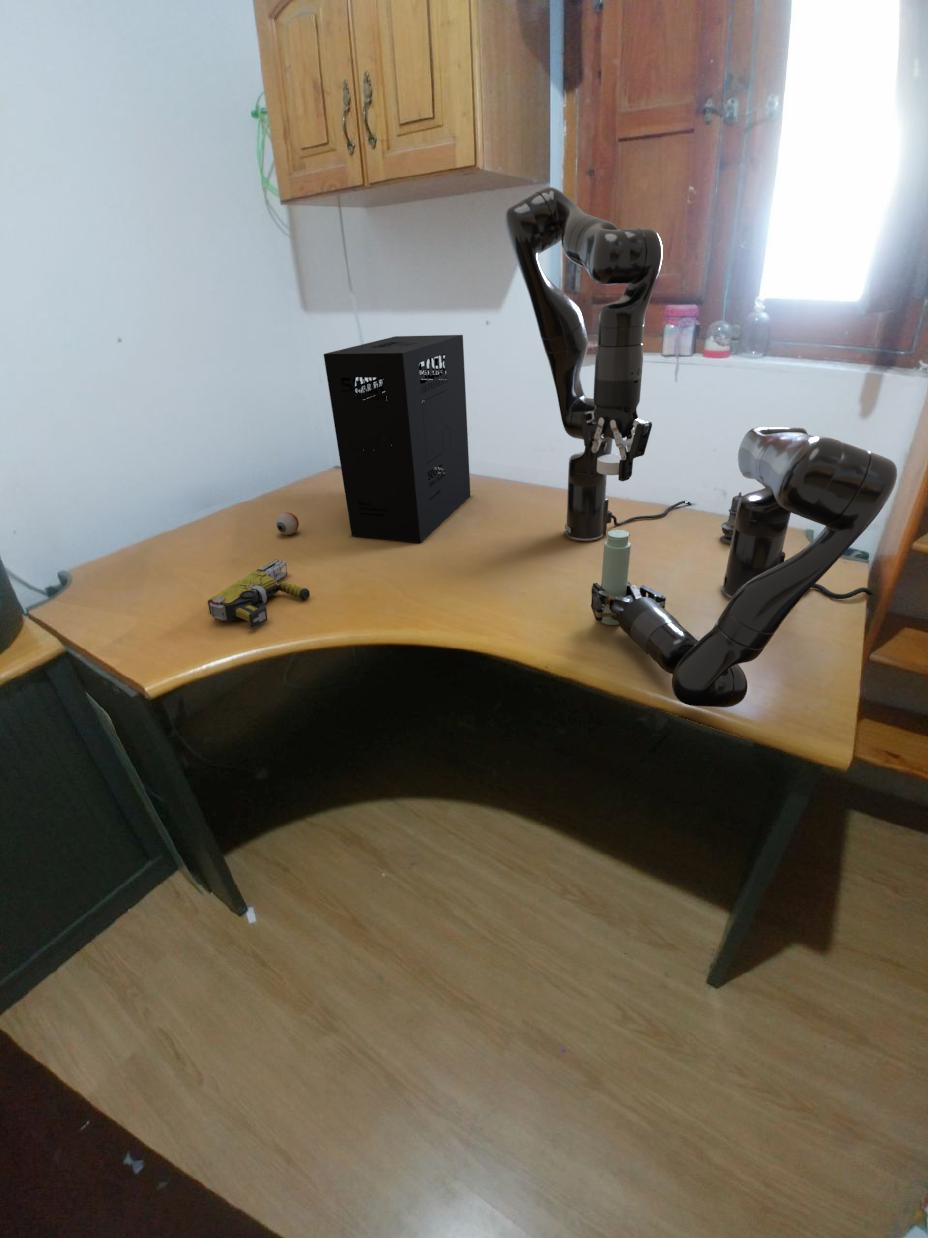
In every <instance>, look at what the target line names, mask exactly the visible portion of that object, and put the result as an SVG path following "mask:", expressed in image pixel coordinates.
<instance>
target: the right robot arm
mask: <svg viewBox="0 0 928 1238" xmlns="http://www.w3.org/2000/svg"><path fill="white" fill-rule="evenodd" d="M738 447H739V448H738V451H737V465H738V469H739V472H740V474H741V475H742V477H744V478H746V479H751V480H756V482H758V483H759V484H761V485H762V486H763V488H761V489H758V490H754V491H751V492H748V493H746V494H744V495H742V497H741V498H740V500H739V503H738V508H737V514H736V519H735V524H734V530H733V536H732V541H731V544H730V546H729V553H728V558H727V562H726V563H727V564H726V568H725V572H724V573H723V577H724V578H723V581H722V582H723V584H722V586H721V587H722V588H721V592H722V595H724V597H726V598H727V599H729V601H728V603H727V604H726V606H725V607H724V609H723V611H722V612H721V614H720V615H719V617H718V618H717V620H716V622H715V623H714V625H713V628H711V630H709V632H707V633H705V634H704V635H703V636H702V637H701V638H700V639H699V640H698V639H697V638H696V637H695V636H693V634H692V633H690V632H689V631H688V630H687V629H686V628H685V627H683V625H682V624H680V622H679V620H678V619H677V618H675V616H673V615H672V614H671V613H670V612H669V611H668V610H666V608H665V607H666V599H667V596H666V595H665V594H662V593H661V592H659V591H657V590H655V589H653V588H651V587H649V586H647V585H645V584H644V585H643V584H642V585H640V587H638V586H637V585H633V584H632V583H630V582H629V581H628V580H627V590H626V597H620V596H618V595H616V594H614V593H612V594H609V593H607V592H605V590H604V589H603V588H602V587H601V584H599V582H593V583H592V585H591V591H590V592H591V593H590V594H591V603H590V608H591V610H592V613H593V616H594V619H595V621H596V622H601V621H602V619H603V617H611V618H612V619H614V620H616V621H618V622H619V624H618V625H619V626H620V628H621V630H622V631H623V632H624V633H625V635H627V636H628V637H629V638H630V640H631V641H633V643H635V644H636V646H637V647H638V648H639V649H640V650H641V651H642V652H644V653H645V654H646V655H648V657H650V658H651V659H652V660H653V661H654V662H655V663H656V664H657V665H658V666H659V667H660V668H661V669H662V670H663V671H664V672H666V673H668V674H669V675H671V689H672V693H673V696H675V698H676V699H677V700H678V701H679V702H680V703H682V704H684V705H687V706H690V707H705V708H706V707H707V708H732V707H734V706H737V705H739V704H740V703H741V702H742V701H743V700H744V699H745V697H746V695H747V693H748V686H749V684H748V679H747V676H746V674H745V671H744V670H743V669H742V667H741V666H740V665H741V664H745V663H749V662H752V661H754V660H756V659H757V658H758V657H759V656H760V655H761V654H762V652H763V651H764V649H766V646H767V645H768V644H769V642H770V641H771V640H772V638H773V637H774V635H775V634H776V633H777V631H778V630H779V628H780V627H781V625H782V624H783V622H784V621H785V619H786V618H787V617H788V615H789V614H790V612H792V611H793V609H794V608H795V606H796V605H797V604H798V603H799V602H800V601H801V599H803V597H805V595H806V594H807V593H808V592H809V591H810V590H811V589H815V590H818V591H820V592H821V593H823V594H824V595H826V596H828V597H829V598H831V599H836V600H845V599H846V600H847V599H851V598H853V597H855V596H857V595H859V594H862V593H865V594H866V595H867V596H874V593H873V591H872V590H871V589H870V588H868V587H864V586H863V587H858V588H856V589H854V590H852V591H850V592H846V593H836V592H832V591H831V590H829V589H828V588H826V587H825V586H824V585H822V584H819V583H817V582H819V581H820V580H821V578H822V577H823V576H824V575H825V574H826V573H827V572H828V571H830V569H831V568H832V566H834V565H835V564H836V562H837V561H838V560H839V559H840V558H841V557H842V556H843V555H844V554H845V553H846V552H847V551H848V549H850V547H851V546H852V545H853V544H854V543H855V542H856V541H857V540H858V538H859V537H861V535H862V534H863V533H864V532H865V531H866V529H868V528H869V526H870V525H871V524H872V523H873V522H874V520H876V518H877V516H878V515H879V514H880V513H881V511H882V510H883V508H884V506H885V505H886V504H887V502H888V501H889V499H890V497H891V495H892V493H893V491H894V489H895V486H896V484H897V479H898V478H897V477H898V467H897V464H896V463H895V462H894V461H893V460H892V459H890V458H888V457H885V456H883V455H880V454H877V453H875V452H872V451H869V450H866V449H863V448H861V447H858V446H855V445H852V444H849V443H846V442H843V441H841V440H838V439H835V438H831V437H827V436H813V435H811V434H809V433H808V432H807V429H806V428H803V427H800V426H798V427H797V426H757V427H753V428H751V429H749V430H748V431H747V432H746V433H745V434H744V436H743V438H742V439H741V441H740V444H739V446H738ZM791 514H794V515H796V516H799V517H801V518H803V519H807V520H809V521H811V522H814V523H817V524H820V525H822V526H824V528H823V529H822V530H821V531H820V532H819V534H818V535H817V536H816V537H815V538H814V539H813V540H812V541H811V542H810V543H809V544H808V545H807V546H805V547H804V548H803V549H802V550H800V551H798V552H797V553H796V554H794V555H793V556H791V557H789V558H788V559H786V560H785V558H786V553H785V551H783V549H784V545H785V540H786V536H787V531H788V527H789V524H790V523H789V522H790V519H791ZM605 599H607V602H606V601H605Z"/></svg>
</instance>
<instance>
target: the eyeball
mask: <svg viewBox="0 0 928 1238" xmlns="http://www.w3.org/2000/svg"><path fill="white" fill-rule="evenodd" d="M299 525H300V522H299V519H298V517H297V516H296V515H295V514H294V513H292V512H287V511H286V512H282V513H280V514H279V515H278V516H277V517H276V520H275V527H276V529H277V530H278V531H279V532H280V533H281V534H282V535H285V536H286V535H287V536H289V535H293V534H295V533H296V532H297V531H298V529H299Z"/></svg>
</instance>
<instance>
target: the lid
mask: <svg viewBox="0 0 928 1238" xmlns="http://www.w3.org/2000/svg"><path fill="white" fill-rule="evenodd" d="M620 460H621V456H620V454H612V453H611V454H609V455H603V456H600V457H598V458H597V472H598V473H600V474H604V475H607V476H619V463H620Z"/></svg>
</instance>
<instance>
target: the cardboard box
mask: <svg viewBox="0 0 928 1238" xmlns="http://www.w3.org/2000/svg"><path fill="white" fill-rule="evenodd" d="M464 350H465V349H464V335H463V334H440V335H439V334H438V335H437V334H436V335H435V334H434V335H433V334H432V335H402V336H401V335H397V336H395V335H394V336H391V337H387V338H383V339H378V340H374V341H371V342H367V343H362V344H359V345H354V346H349V347H346V348H341V349H337V350H334V351H329V352H326V353H323V359H324V367H325V373H326V380H327V385H328V392H329V398H330V399H329V400H330V406H331V412H332V418H333V425H334V430H335V437H336V444H337V451H338V456H339V463H340V469H341V476H342V483H343V489H344V495H345V501H346V503H345V504H346V509H347V514H348V520H349V527H350V528H349V529H350V533H351V535H350V536H351V537H359V538H367V539H376V540H377V539H378V540H388V541H397V542H406V543H407V542H408V543H417V544H421V543H422V542H423V541H425V540H426V538H428V537H429V536H430V535H431V534H432V533H433V532H434V531H435V530H436V529H438V527H439V526H441V524H443V522H445V521H446V520H447V519H448V518H449V517H450V516H452V514H453V513H454V512H455V511H457V509H458V508H459V507H461V506H462V505H463V504H464V503H465V502H466V501H467V500H468V499H469V498H470V497H471V478H470V459H469V458H470V457H469V435H468V415H467V413H468V412H467V394H466V392H467V391H466V374H465V373H466V372H465V371H466V370H465V354H464V353H465V352H464ZM422 363H423V365H422ZM440 364H441V365H440ZM440 366H441V367H440ZM366 378H367V380H366ZM370 379H371V380H370ZM361 380H362V381H361Z"/></svg>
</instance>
